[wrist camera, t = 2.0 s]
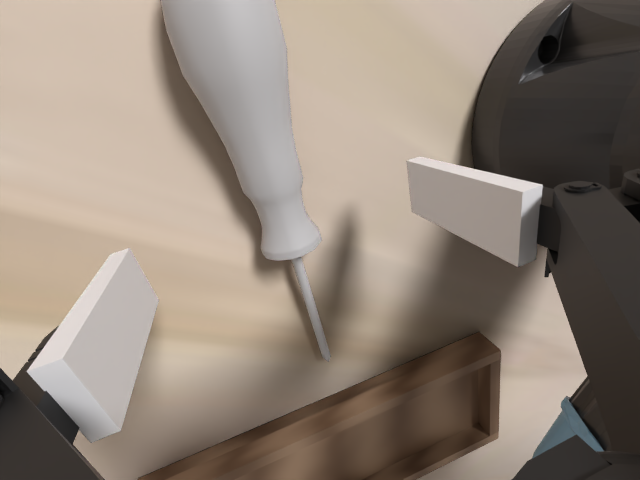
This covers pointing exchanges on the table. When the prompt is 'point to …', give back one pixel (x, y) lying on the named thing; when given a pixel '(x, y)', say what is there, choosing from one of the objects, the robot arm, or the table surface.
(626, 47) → the robot arm
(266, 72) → the screwdriver
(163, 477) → the tool tray
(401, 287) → the table surface
